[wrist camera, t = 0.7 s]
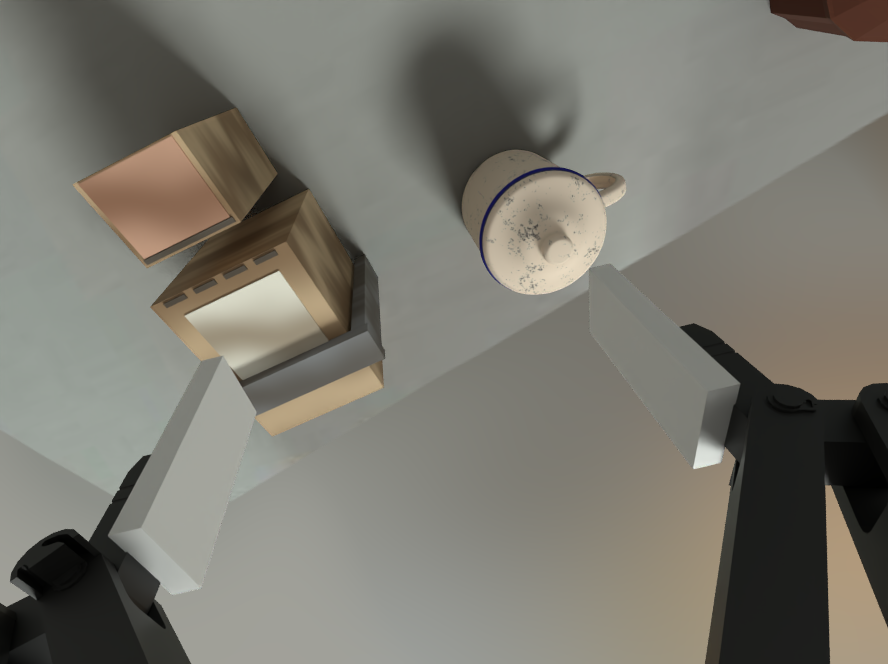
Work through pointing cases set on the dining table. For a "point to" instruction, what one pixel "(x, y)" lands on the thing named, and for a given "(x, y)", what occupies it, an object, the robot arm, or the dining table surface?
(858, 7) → the muffin
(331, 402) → the tan wooden crate
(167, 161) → the pink-ended wooden block
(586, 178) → the teacup with lid
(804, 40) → the dining table surface
